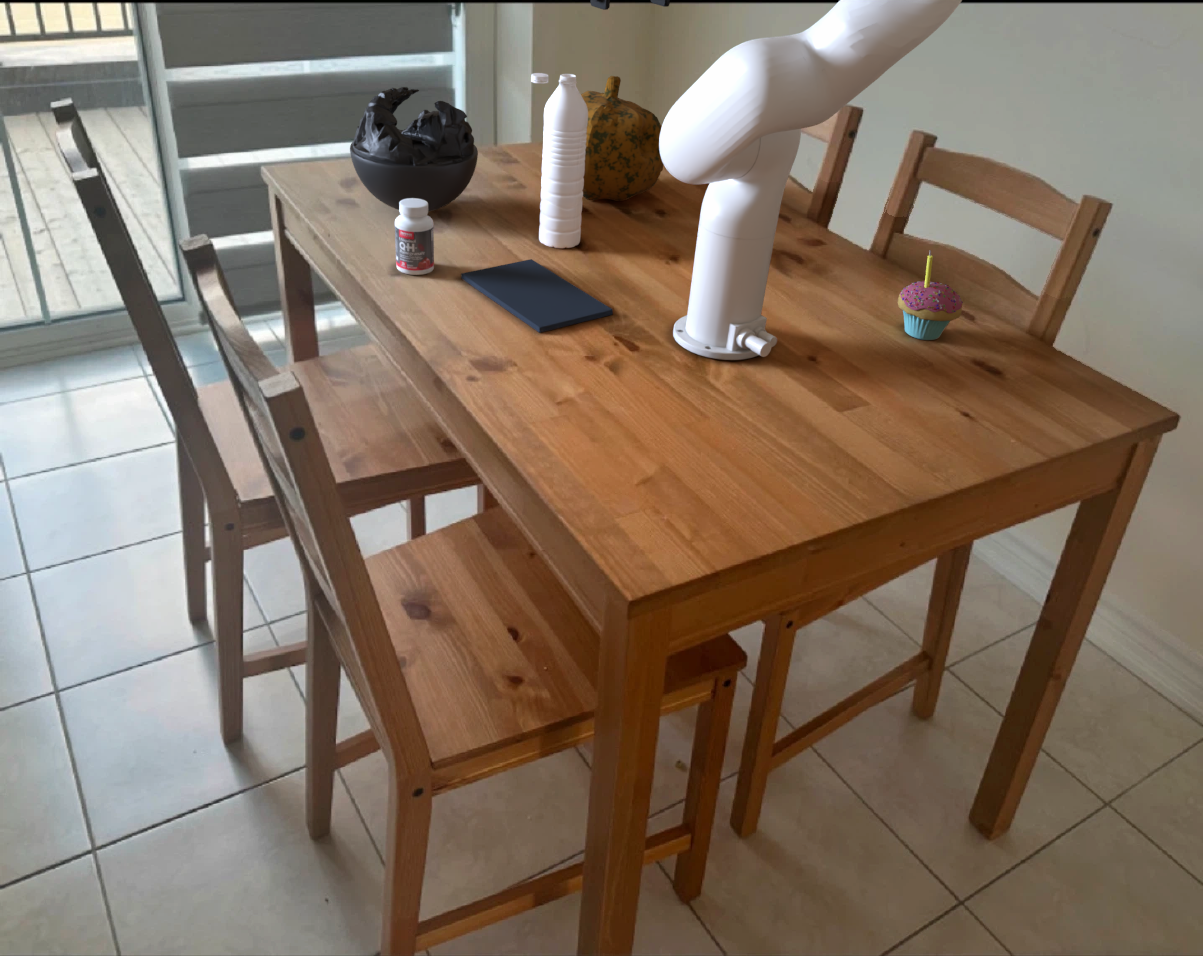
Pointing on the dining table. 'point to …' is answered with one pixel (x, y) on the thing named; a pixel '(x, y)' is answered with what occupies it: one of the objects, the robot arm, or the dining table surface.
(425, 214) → the pill bottle
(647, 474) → the dining table surface
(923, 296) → the cupcake
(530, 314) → the mat
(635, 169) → the decorative pumpkin
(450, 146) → the black sculptural bowl
